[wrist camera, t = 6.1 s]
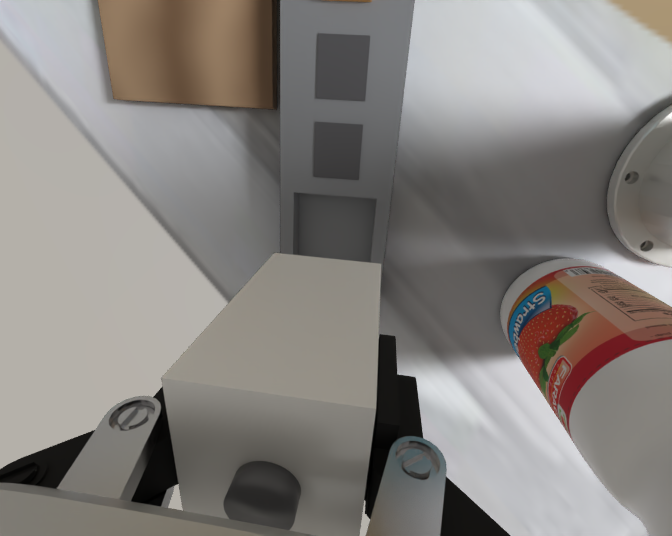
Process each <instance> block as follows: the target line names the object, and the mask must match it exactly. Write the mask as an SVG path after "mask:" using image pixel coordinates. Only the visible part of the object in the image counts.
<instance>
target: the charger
mask: <svg viewBox="0 0 672 536" xmlns="http://www.w3.org/2000/svg"><path fill="white" fill-rule="evenodd" d="M380 287H381V264H379V263H369V262H360V261H350V260H340V259H330V258H320V257H311V256H301V255H291V254H281V253H274V254H273V255H272V256H271V257H270V258H269V259H268V260H267V261H266V262H265V263H264V265H263V266H262V267H261V268H260V269H259V270H258V271H257V272H256V273H255V275H254V276H253V277H252V278H251V279H250V280H249V281H248V282H247V283H246V285H245V286H244V287H243V288H242V289H241V290H240V291H239V292H238V293H237V295H236V296H235V297H234V298H233V299H232V300H231V301H230V302H229V303H228V304H227V306H226V307H225V308H224V309H223V310H222V311H221V312H220V313H219V314H218V316H217V317H216V318H215V319H214V320H213V321H212V322H211V324H210V325H209V326H208V327H207V328H206V329H205V330H204V331H203V332H202V333H201V334H200V336H199V337H198V338H197V339H196V340H195V341H194V342H193V343H192V344H191V346H190V347H189V348H188V349H187V350H186V351H185V352H184V353H183V354H182V355H181V357H180V358H179V359H178V360H177V361H176V362H175V363H174V364H173V365H172V367H171V368H170V369H169V370H168V371H167V372H166V373H165V374H164V375H163V377H162V378H161V380H162V386H163V392H164V398H165V404H166V410H167V416H168V423H169V429H170V435H171V441H172V447H173V453H174V459H175V465H176V472H177V478H178V484H179V490H180V496H181V502H182V508H183V511H187V512H193V513H198V514H204V515H209V516H214V517H220V518H225V519H231V520H236V521H242V522H247V523H252V524H258V525H263V526H269V527H274V528H279V529H284V530H290V531H295V532H300V533H305V534H311V535H316V536H359V535H360V527H361V520H362V512H363V505H364V497H365V489H366V482H367V474H368V467H369V459H370V452H371V444H372V437H373V429H374V422H375V414H376V400H377V371H378V343H379V315H380Z"/></svg>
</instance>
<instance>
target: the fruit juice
mask: <svg viewBox="0 0 672 536" xmlns="http://www.w3.org/2000/svg"><path fill="white" fill-rule="evenodd" d="M500 319H501V325H502V329H503V331H504V334H505V336H506V338H507V340H508V342H509V343H510V345H511V346H512V348H513V349H514V351H515V352H516V354H517V356H518V357H519V359H520V360H521V362H522V363H523V365H524V366H525V368H526V369H527V371H528V373H529V374H530V376H531V377H532V379H533V380H534V382H535V383H536V385H537V386H538V388H539V390H540V391H541V393H542V394H543V396H544V397H545V399H546V400H547V402H548V403H549V405H550V407H551V408H552V410H553V411H554V413H555V414H556V416H557V417H558V419H559V420H560V422H561V424H562V425H563V427H564V428H565V430H566V431H567V433H568V434H569V436H570V438H571V439H572V441H573V443H574V444H575V446H576V448H577V449H578V451H579V452H580V454H581V455H582V457H583V458H584V460H585V461H586V463H587V464H588V465H589V467H590V468H591V470H592V471H593V472H594V474H595V475H596V476H597V478H598V479H599V480H600V482H601V483H602V484H603V485H604V487H605V488H606V489H607V490H608V491H609V493H610V494H611V495H612V496H613V497H614V498H615V499H616V500H617V501H618V502H619V503H620V504H621V505H622V506H623V507H625V508H626V509H627V510H628V511H630V512H631V513H632V514H634V515H635V516H636V517H637V518H639V519H640V520H641V522H642V523H643V525H644V526H645V528H646V530H647V533H648V535H649V536H672V307H670V306H669V305H667V304H665V303H664V302H662V301H660V300H659V299H657V298H655V297H654V296H652V295H650V294H648V293H647V292H645V291H643V290H642V289H640V288H638V287H637V286H635V285H633V284H631V283H630V282H628V281H626V280H625V279H623V278H621V277H620V276H618V275H616V274H614V273H613V272H611V271H609V270H608V269H606V268H604V267H602V266H600V265H597V264H595V263H592V262H589V261H586V260H581V259H570V258H565V259H556V260H551V261H547V262H544V263H541V264H538V265H536V266H534V267H532V268H530V269H529V270H527V271H526V272H524V273H523V274H522V275H520V276H519V277H518V278H517V279H516V280H515V281H514V282H513V283H512V284H511V286H510V287H509V289H508V290H507V292H506V294H505V296H504V298H503V301H502V304H501V310H500Z"/></svg>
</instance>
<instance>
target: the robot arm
mask: <svg viewBox="0 0 672 536" xmlns="http://www.w3.org/2000/svg"><path fill="white" fill-rule="evenodd" d="M625 177H626V178H625ZM607 213H608V217H609V221H610V225H611V227H612V229H613V231H614V233H615V235H616V237H617V238H618V240H619V241H620V242H621V243H622V244H623V245H624V246H625V247H626V248H627V249H628V250H630V251H631V252H633V253H634V254H636V255H637V256H639V257H641V258H643V259H646V260H648V261H650V262H652V263H655V264H658V265H662V266H666V267H672V105H670V106H669V107H667V108H666V109H664V110H663V111H661V112H660V113H658V114H657V115H656V116H655V117H654V118H653V119H651V120H650V121H649V122H648V123H647V124H646V125H645V126H644V127H643V128H642V129H641V130H640V131H639V132H638V133H637V134H636V136H635V137H634V138H633V139H632V140H631V142H630V143H629V144H628V145H627V147H626V148H625V150H624V152H623V153H622V155H621V157H620V158H619V160H618V162H617V164H616V166H615V169H614V171H613V174H612V176H611V179H610V183H609V189H608V194H607ZM446 470H447V469H446V461H445V459H444V456H443V454H442V453H441V452H440V450H439V449H438V448H437V447H436V446H435V445H434V444H432V443H431V442H430V441H427V440H425V439H423V433H422V425H421V417H420V408H419V400H418V392H417V383H416V378H415V377H411V376H403V375H397V360H396V338H395V336H389V335H381V334H380V336H379V343H378V371H377V400H376V414H375V422H374V429H373V437H372V444H371V452H370V459H369V467H368V474H367V482H366V489H365V497H364V500H365V501H366V505H365V514H367V516H368V517H369V519H370V523H369V526H368V530H367V533H366V536H510V535H509V534H508V533H507V532H506V531H505V530H504V529H503V528H502V527H500V526H499V525H498V524H497V523H496V522H495V521H494V520H493V519H492V518H491V517H490V516H489V515H487V514H486V513H485V512H484V511H483V510H482V509H481V508H480V507H479V506H478V505H477V504H475V503H474V502H473V501H472V500H471V499H470V498H469V497H468V496H467V495H466V494H465V493H463V492H462V491H461V490H460V489H459V488H458V487H457V486H456V485H455V484H454V483H453V482H452V481H450V480H449V479H448V478H447V477H446ZM177 484H178V478H177V472H176V465H175V459H174V453H173V447H172V441H171V435H170V429H169V423H168V416H167V410H166V404H165V398H164V392H163V386H162V388H161V389H160V390H159V391H158V392H157V393H156V395H155V396H154V397H150V396H138V397H133V398H130V399H126V400H124V401H122V402H120V403H118V404H117V405H115V406H114V407H113V408H111V409H110V410H109V411H108V412H107V414H106V415H105V416H104V418H103V419H102V421H101V422H100V424H99V425H98V427H97V428H96V430H94V431H91V432H88V433H86V434H83V435H81V436H78V437H75V438H73V439H70V440H67V441H65V442H62V443H60V444H57V445H55V446H52V447H49V448H47V449H44V450H42V451H39V452H36V453H34V454H31V455H28V456H26V457H23V458H21V459H18V460H16V461H14V462H12V463H10V464H8V465H6V466H5V467H3V468H2V469H0V536H316V535H311V534H305V533H300V532H295V531H290V530H284V529H279V528H274V527H269V526H263V525H258V524H252V523H247V522H242V521H236V520H231V519H225V518H220V517H214V516H209V515H204V514H198V513H193V512H187V511H182V510H176V509H171V508H168V506H169V503H170V500H171V497H172V494H173V490H174V486H175V485H177Z"/></svg>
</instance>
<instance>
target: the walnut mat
mask: <svg viewBox="0 0 672 536" xmlns="http://www.w3.org/2000/svg"><path fill="white" fill-rule="evenodd" d="M98 5H99V11H100V17H101V24H102V30H103V36H104V42H105V49H106V55H107V61H108V67H109V74H110V80H111V86H112V92H113V98H114V99H118V100H127V101H143V102H160V103H176V104H193V105H209V106H225V107H242V108H258V109H274V110H277V0H98Z"/></svg>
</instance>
